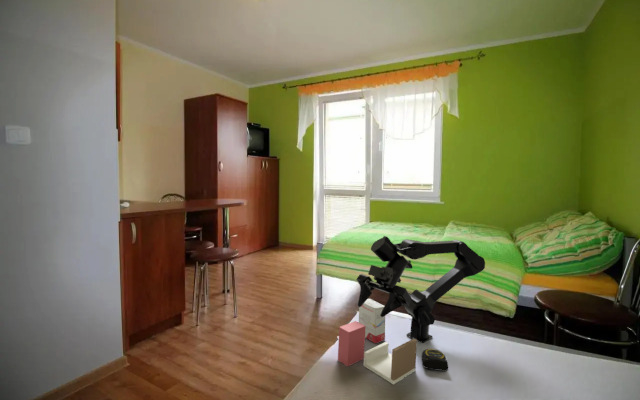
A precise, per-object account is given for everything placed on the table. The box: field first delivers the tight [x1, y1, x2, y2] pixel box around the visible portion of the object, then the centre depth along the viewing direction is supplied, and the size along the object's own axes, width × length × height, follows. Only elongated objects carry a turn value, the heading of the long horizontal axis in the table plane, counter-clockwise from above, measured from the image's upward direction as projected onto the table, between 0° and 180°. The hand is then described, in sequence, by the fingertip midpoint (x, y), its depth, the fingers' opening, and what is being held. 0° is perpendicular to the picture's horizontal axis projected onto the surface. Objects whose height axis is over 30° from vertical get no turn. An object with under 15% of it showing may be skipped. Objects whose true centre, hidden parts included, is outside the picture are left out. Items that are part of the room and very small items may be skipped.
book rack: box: [363, 338, 418, 385], centre depth 88 cm, size 10×10×9 cm
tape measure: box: [421, 348, 449, 372], centre depth 91 cm, size 7×7×4 cm
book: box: [337, 320, 366, 367], centre depth 92 cm, size 7×4×10 cm, turn 130°
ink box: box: [358, 298, 386, 344], centre depth 106 cm, size 9×5×12 cm, turn 33°
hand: (369, 311), depth 97 cm, fingers open, 9 cm apart
